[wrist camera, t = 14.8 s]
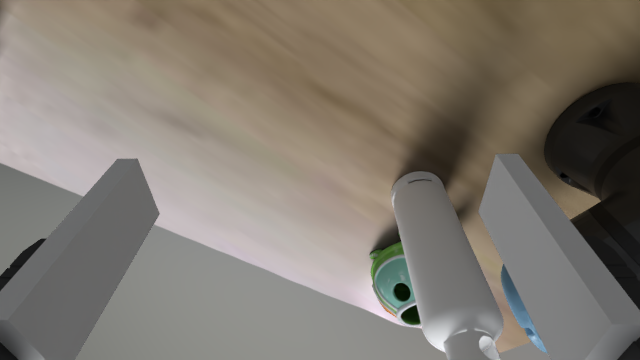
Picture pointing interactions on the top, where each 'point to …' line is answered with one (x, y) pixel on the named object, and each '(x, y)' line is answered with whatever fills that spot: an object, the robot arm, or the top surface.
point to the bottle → (445, 271)
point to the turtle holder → (394, 284)
